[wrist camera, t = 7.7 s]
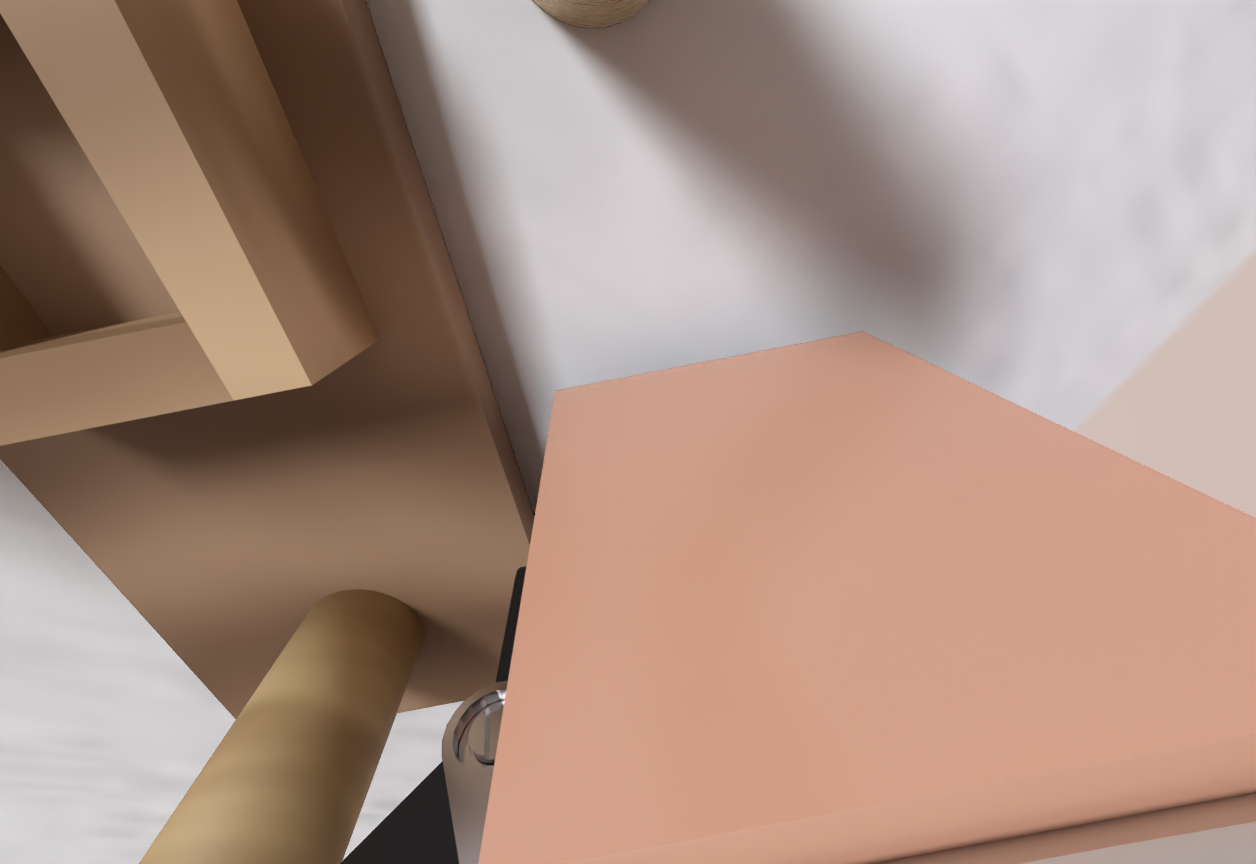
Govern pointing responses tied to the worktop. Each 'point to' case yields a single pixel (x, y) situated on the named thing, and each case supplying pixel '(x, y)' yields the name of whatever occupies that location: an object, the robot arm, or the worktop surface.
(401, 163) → the board
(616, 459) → the salmon pink cube
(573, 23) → the peg
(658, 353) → the worktop surface
